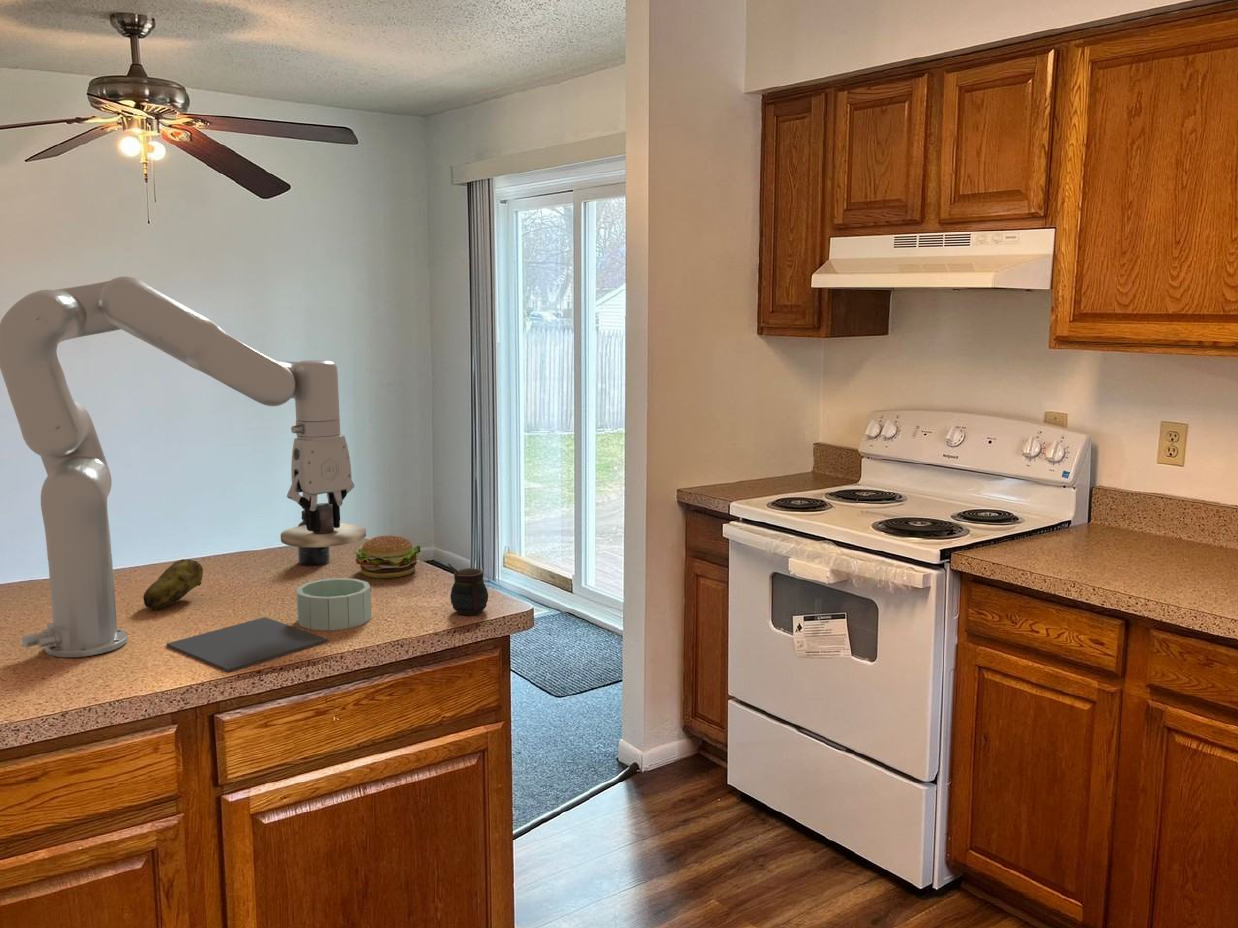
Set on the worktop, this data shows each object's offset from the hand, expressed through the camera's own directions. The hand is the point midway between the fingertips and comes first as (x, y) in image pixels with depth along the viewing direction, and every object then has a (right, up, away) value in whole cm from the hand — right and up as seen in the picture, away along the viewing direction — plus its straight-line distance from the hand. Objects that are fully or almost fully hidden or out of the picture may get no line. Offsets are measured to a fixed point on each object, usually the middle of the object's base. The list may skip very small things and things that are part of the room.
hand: (323, 528), depth 185 cm
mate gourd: (+25, -17, +10) cm, 32 cm away
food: (+3, -12, +37) cm, 39 cm away
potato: (-33, -16, +13) cm, 39 cm away
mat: (-10, -19, -10) cm, 24 cm away
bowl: (+1, -17, +4) cm, 18 cm away
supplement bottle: (-15, -11, +44) cm, 48 cm away
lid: (0, -2, 0) cm, 2 cm away
